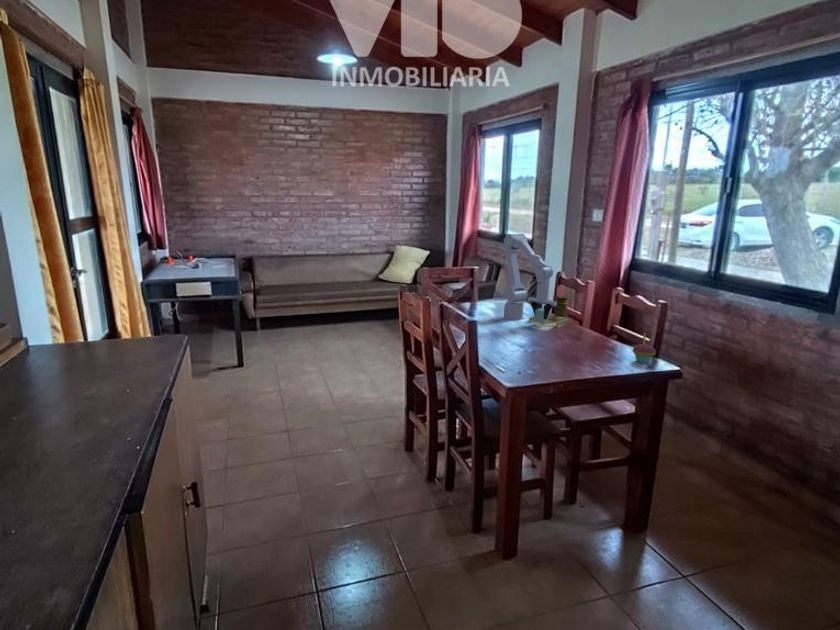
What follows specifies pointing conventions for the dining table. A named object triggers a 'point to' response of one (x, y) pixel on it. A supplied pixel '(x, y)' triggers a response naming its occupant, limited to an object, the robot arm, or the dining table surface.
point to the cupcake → (644, 352)
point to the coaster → (542, 327)
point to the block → (540, 316)
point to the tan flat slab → (552, 321)
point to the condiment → (561, 307)
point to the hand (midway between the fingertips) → (540, 318)
